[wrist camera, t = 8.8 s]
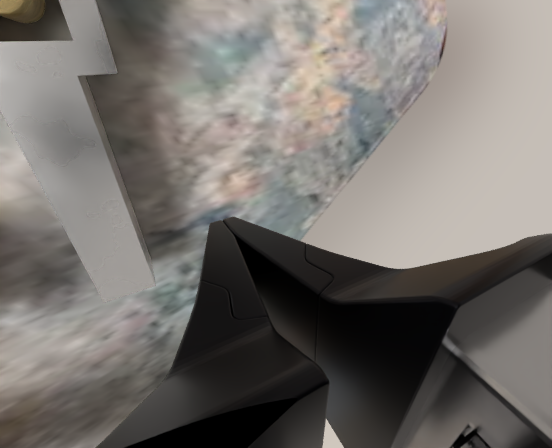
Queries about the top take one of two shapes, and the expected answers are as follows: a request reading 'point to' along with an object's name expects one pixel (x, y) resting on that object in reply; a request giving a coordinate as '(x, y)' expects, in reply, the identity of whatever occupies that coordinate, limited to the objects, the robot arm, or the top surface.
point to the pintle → (22, 10)
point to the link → (75, 147)
